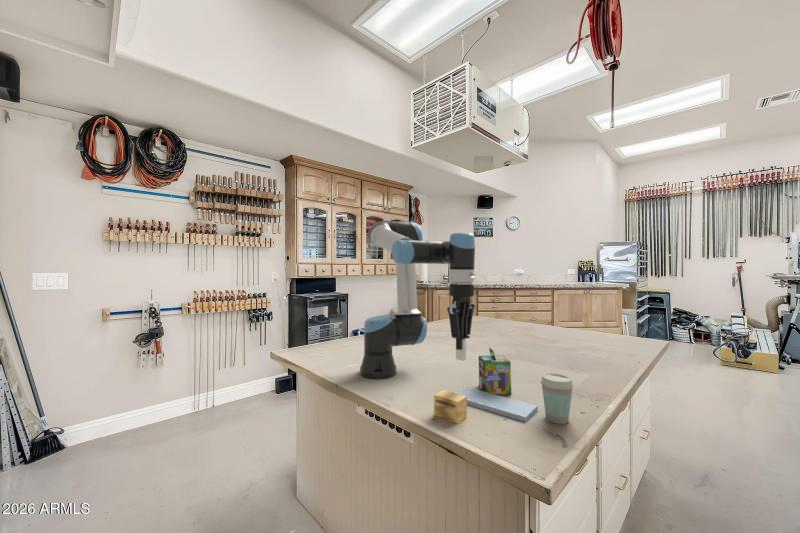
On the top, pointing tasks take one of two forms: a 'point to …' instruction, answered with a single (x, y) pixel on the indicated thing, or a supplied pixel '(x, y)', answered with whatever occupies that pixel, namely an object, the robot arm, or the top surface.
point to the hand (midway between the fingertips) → (460, 359)
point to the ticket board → (499, 404)
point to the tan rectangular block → (450, 406)
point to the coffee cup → (557, 397)
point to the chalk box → (495, 374)
